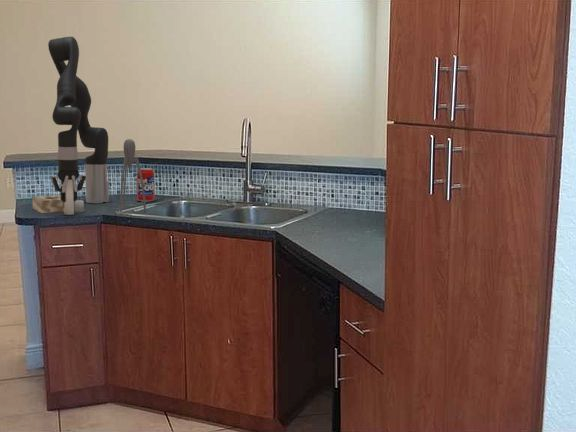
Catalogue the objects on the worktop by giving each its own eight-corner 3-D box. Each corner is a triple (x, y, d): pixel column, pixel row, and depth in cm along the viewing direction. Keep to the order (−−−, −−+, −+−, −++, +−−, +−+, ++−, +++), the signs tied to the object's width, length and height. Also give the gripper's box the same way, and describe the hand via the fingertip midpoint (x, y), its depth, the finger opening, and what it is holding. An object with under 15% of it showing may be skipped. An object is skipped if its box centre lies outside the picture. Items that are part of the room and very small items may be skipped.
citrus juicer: (146, 211, 300) (145, 139, 295) (131, 214, 291) (130, 140, 286) (124, 208, 304) (123, 138, 299) (108, 212, 295) (108, 139, 290)
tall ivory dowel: (72, 213, 288) (71, 178, 285) (75, 214, 285) (74, 179, 283) (63, 213, 286) (62, 178, 283) (66, 215, 283) (65, 179, 280)
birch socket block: (61, 207, 304) (61, 195, 304) (71, 211, 295) (70, 199, 294) (32, 208, 297) (32, 197, 297) (41, 213, 288) (41, 200, 287)
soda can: (147, 199, 333) (147, 167, 331) (157, 201, 328) (157, 168, 325) (133, 200, 328) (133, 168, 325) (143, 203, 322) (143, 169, 320)
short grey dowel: (81, 210, 297) (81, 200, 296) (85, 212, 294) (84, 201, 293) (73, 211, 295) (73, 200, 294) (76, 212, 292) (76, 201, 291)
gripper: (82, 156, 289) (83, 199, 292) (46, 157, 280) (48, 201, 283) (88, 158, 283) (89, 201, 286) (52, 159, 274) (54, 203, 277)
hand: (68, 201), depth 284 cm, fingers closed on tall ivory dowel, 3 cm apart
